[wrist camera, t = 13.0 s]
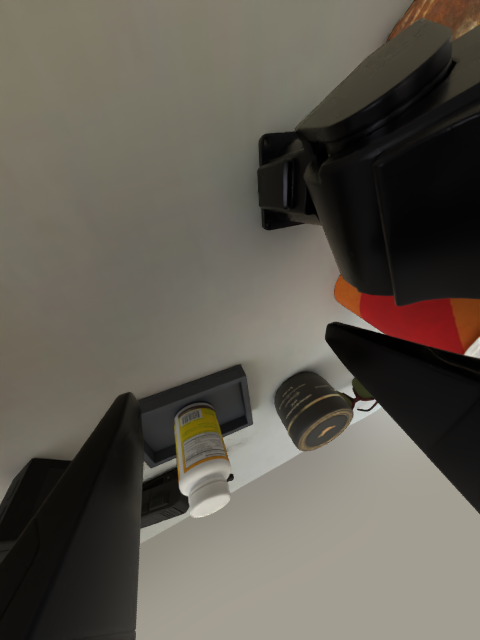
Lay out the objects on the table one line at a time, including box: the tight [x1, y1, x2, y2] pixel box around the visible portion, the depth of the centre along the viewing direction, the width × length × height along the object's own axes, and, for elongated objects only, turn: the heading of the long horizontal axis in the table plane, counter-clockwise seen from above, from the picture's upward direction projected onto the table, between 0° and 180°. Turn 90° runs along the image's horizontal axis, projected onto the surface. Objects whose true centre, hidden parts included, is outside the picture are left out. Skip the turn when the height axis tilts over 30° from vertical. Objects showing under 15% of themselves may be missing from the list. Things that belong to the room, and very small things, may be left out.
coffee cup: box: [334, 275, 480, 358], centre depth 20 cm, size 8×8×15 cm
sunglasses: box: [336, 378, 378, 411], centre depth 42 cm, size 14×15×5 cm
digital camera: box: [0, 459, 71, 563], centre depth 23 cm, size 10×5×7 cm, turn 43°
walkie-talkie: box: [140, 469, 234, 529], centre depth 32 cm, size 6×6×20 cm
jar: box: [275, 372, 353, 451], centre depth 31 cm, size 10×10×8 cm
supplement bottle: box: [174, 403, 231, 518], centre depth 23 cm, size 6×6×10 cm
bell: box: [386, 0, 480, 43], centre depth 14 cm, size 12×12×7 cm
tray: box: [138, 365, 253, 468], centre depth 27 cm, size 16×12×2 cm
